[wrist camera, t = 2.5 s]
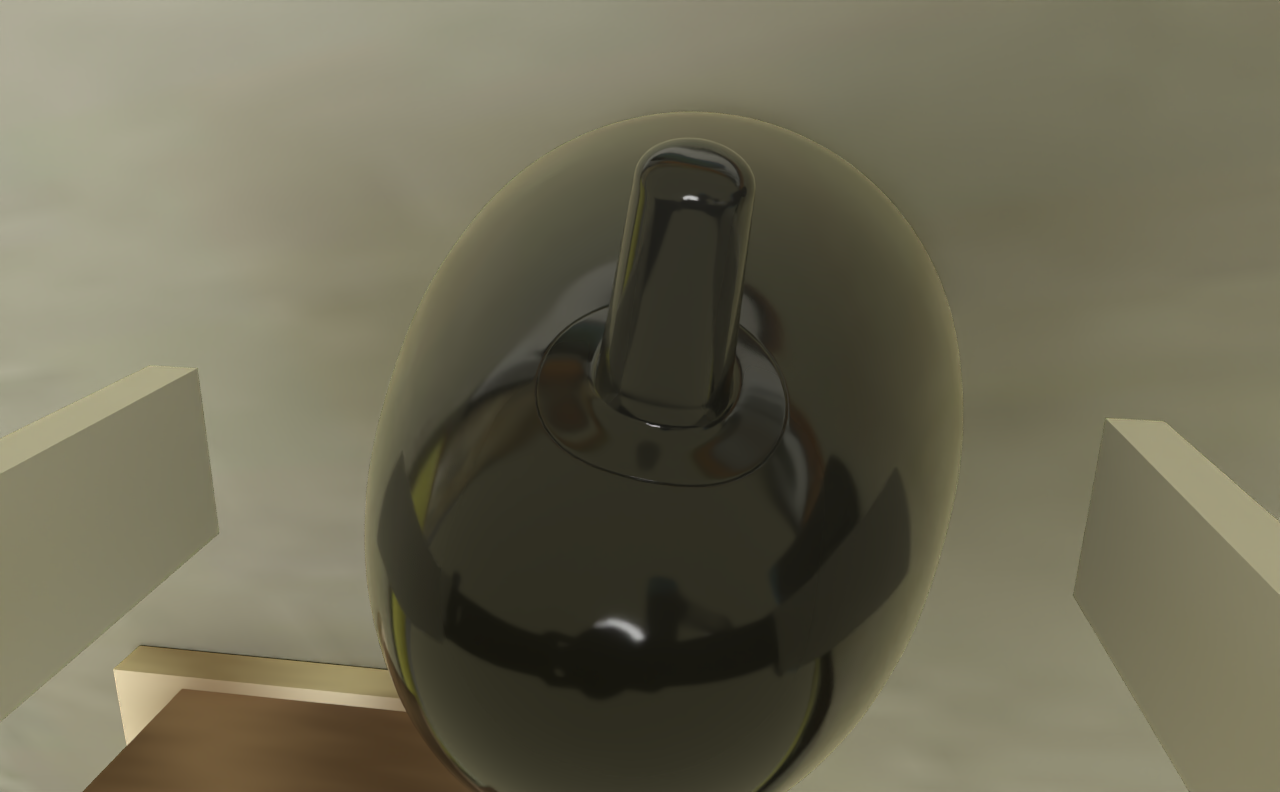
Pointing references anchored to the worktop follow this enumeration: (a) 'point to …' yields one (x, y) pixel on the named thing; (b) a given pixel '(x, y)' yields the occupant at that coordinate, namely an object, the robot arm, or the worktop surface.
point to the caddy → (263, 728)
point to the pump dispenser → (663, 465)
